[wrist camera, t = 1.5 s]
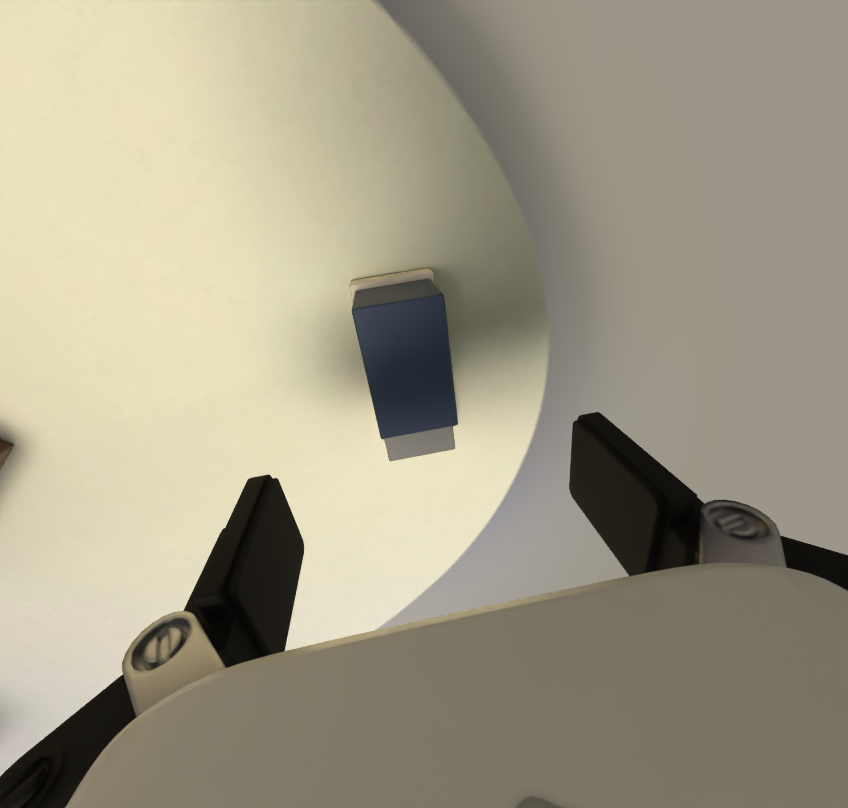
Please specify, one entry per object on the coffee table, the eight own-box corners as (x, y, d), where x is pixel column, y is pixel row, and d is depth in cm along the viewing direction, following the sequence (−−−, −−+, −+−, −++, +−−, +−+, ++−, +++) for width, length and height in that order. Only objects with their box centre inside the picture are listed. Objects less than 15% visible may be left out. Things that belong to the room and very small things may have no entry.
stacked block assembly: (349, 280, 18) (344, 302, 14) (429, 267, 18) (448, 285, 14) (383, 432, 22) (387, 486, 18) (448, 420, 23) (467, 470, 18)
